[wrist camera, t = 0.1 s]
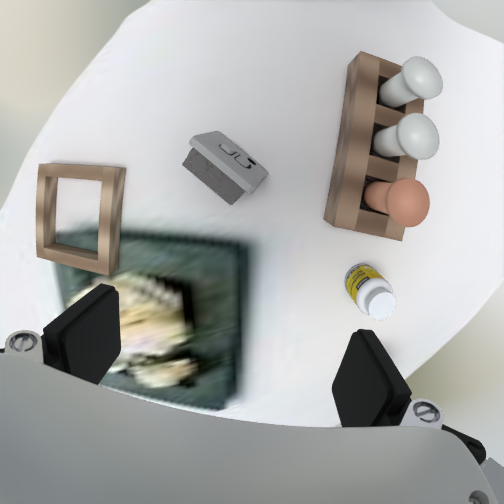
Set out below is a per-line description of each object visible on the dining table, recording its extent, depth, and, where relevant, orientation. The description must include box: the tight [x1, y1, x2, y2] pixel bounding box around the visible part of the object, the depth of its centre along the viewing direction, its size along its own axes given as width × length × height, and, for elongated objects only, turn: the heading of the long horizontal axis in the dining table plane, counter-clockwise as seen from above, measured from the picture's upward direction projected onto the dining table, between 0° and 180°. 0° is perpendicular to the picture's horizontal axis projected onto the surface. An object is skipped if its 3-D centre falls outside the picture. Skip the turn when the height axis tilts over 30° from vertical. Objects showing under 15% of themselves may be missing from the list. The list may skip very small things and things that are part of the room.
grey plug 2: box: [371, 113, 439, 160], centre depth 28 cm, size 5×5×10 cm
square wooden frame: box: [36, 164, 126, 275], centre depth 39 cm, size 16×16×4 cm
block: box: [324, 51, 424, 241], centre depth 34 cm, size 24×10×6 cm, turn 171°
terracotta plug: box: [361, 178, 430, 227], centre depth 30 cm, size 5×5×10 cm
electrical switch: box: [182, 131, 268, 205], centre depth 35 cm, size 9×5×9 cm, turn 49°
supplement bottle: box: [345, 264, 396, 320], centre depth 38 cm, size 5×5×10 cm
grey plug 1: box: [377, 57, 443, 109], centre depth 26 cm, size 5×5×10 cm
